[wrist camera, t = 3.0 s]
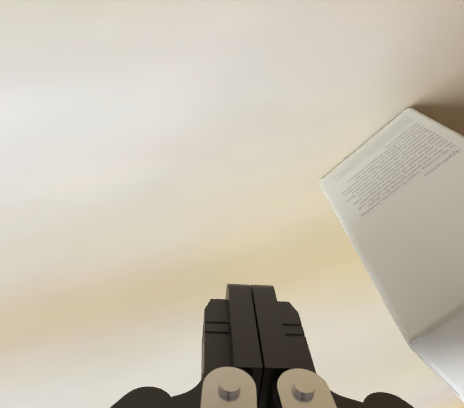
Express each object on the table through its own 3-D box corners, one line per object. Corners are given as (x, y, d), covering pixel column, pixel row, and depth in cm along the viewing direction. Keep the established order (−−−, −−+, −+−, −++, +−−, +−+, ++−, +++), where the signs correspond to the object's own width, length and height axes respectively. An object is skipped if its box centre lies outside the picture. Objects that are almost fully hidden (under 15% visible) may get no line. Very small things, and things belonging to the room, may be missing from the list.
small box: (486, 202, 25) (723, 381, 13) (395, 266, 27) (533, 475, 15) (409, 101, 22) (619, 212, 11) (314, 179, 24) (402, 350, 12)
